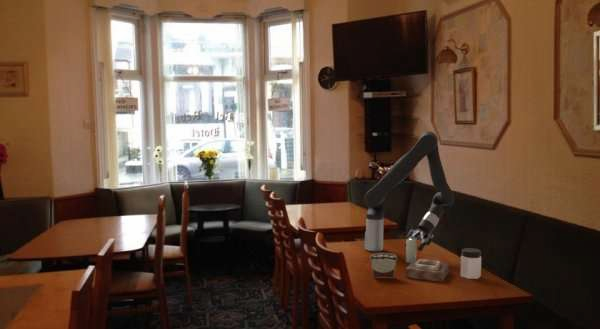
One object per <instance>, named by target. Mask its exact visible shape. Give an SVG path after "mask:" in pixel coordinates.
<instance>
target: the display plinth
mask: <svg viewBox="0 0 600 329" xmlns="http://www.w3.org/2000/svg"><path fill="white" fill-rule="evenodd" d="M449 270H450V264H449V263H446V262H445V263H444V262H442V261H440V260H433V259H432V260H429V259H425V258H424V259H422V258H419V259H416V260H414V261H413V262H412V263H409V265H408V266H407V267H405V277H406V278H410V279H415V280H416V279H417V280H422V281H423V280H426V281H433V282H440V283H442V282H444V280H445V279H446V277H447V276H448V274H449V272H450V271H449Z"/></svg>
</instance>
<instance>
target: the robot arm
mask: <svg viewBox="0 0 600 329" xmlns="http://www.w3.org/2000/svg"><path fill="white" fill-rule="evenodd" d="M438 142H439V139H438V136H437V134H436V133H434V132H433V131H431V130H430V131H425V132H424V131H423V133H421V134H420V137H419V139H418V141H416V143H415V144H414V145H413V147H412V148H411V149H410V150H409V151H408V152H407V153H405V154H404V155H402V156H401V157H400V158H399V159H398V160H397V161H396V162H395V163H394V164H393V165H392V166H391V167H390V168H389V169H388V171H386V172H385V174H384V175H383V177H382V178H381V179H380V180H379V181H378V182H377V183H376V184H375V185H374V186H373V187H371V188H370V189H369V190H368V191H366V193H365V195H364V198H363V199H364V203H365V204H366V206H368V209H367V212H366V214H365V218H366V219H365V221H366V222H365V230H366V231H365V232H364V250H365V251H370V252H382V251H383V250H384V214H385V212H386V210H385V206H386V195H387V194H388V193H389V192H390V191H391V190H393V189H394V188H396V187H397V186H398V185H400V184H401V183H402V182H403V181H404V180H406V178H407V177H408V176H409V175H410V174H411V172H413V171H414V169H415V168H416V167H417V166H418V164H419V163H420V162H421V161H422V160H423V159H424V158H427V162H428V167H429V168H428V169H429V173H430V178H431V181H432V186H433V187H434V189H436V190H438V192H437V193H435V194H434V196H433V198H432V202H431V205H430V207H429V208H428V210H427V212H426V213H425V214H424V216H423V217H422V219H421V220H420V222H419V223H418V225H417V229H415V230H414V228H411V229H410V230H409V232H408V233H407V234H406V236H405V238H406V240H407V239H415V240H417V241H421V242H420V244H419V245H418V247H417V250H418V252H422V251H423V249H424V248H425V247H426V246H430V245H431V243H432V241H433V240H434V238H435V235H434V234H433V232H434V230H435V228H436V227H437V225H438V223H439V221H440V219H441V217H442V216H443V214H444V213H445V212H444V208H443V207H442V206H447V207H449V206H452V205H453V204H454V202H455V195H454V192H453V190H452V188H451V187H450V185H449V184H448V181H447V178H446V175H445V170H444V167H443V164H442V161H441V157H440V151H439V143H438ZM404 247H405V248H406V242H405V244H404Z"/></svg>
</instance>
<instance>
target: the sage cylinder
mask: <svg viewBox="0 0 600 329" xmlns="http://www.w3.org/2000/svg"><path fill="white" fill-rule="evenodd" d="M417 241H418V240H415V239H413V238H412V239H407V238H406V240H405V243H406V247H405V263H407V264H411V263H412V262H413V261H414V260H417Z"/></svg>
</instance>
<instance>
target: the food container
mask: <svg viewBox="0 0 600 329" xmlns="http://www.w3.org/2000/svg"><path fill="white" fill-rule="evenodd" d="M369 260H371V271H372V278H376V279H377V278H378V279H380V278H381V279H383V278H385V279H389V278H390V279H394V278H395V274H396V272H395V271H396V267H397V266H396V265H397V261H398V257H397V254H394V253H391V252H390V253H389V252H375V253H372V254H370V257H369Z"/></svg>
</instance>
